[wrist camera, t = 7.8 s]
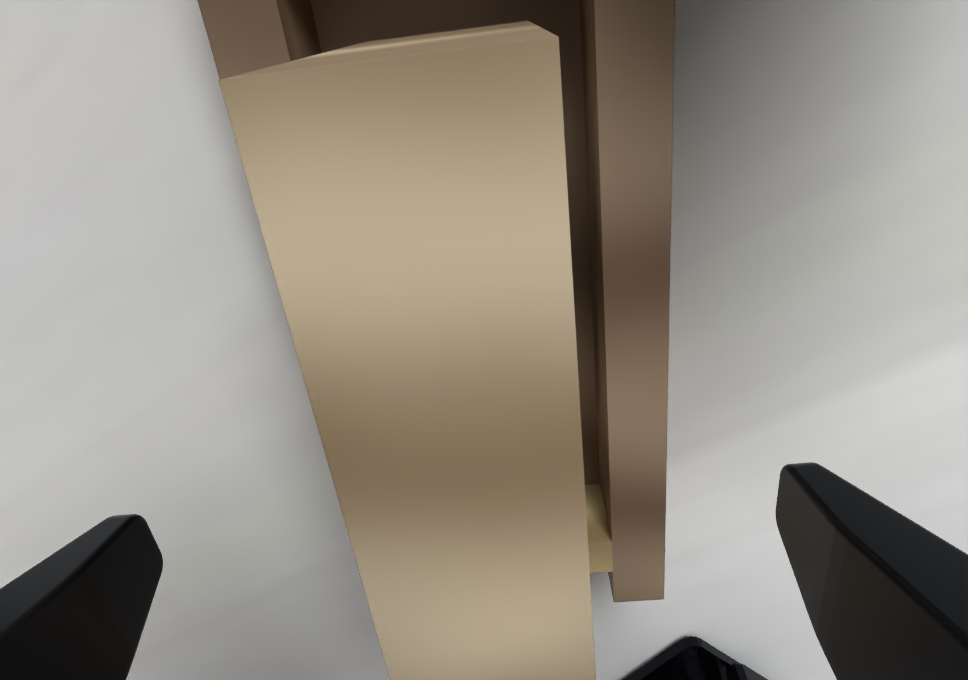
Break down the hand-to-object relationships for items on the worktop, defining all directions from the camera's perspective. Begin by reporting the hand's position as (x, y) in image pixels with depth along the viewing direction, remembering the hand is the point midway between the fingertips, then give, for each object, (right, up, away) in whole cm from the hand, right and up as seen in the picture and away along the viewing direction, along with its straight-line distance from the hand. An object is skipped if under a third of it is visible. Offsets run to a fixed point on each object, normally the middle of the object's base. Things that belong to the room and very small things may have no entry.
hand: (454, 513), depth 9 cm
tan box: (0, +4, +8) cm, 9 cm away
